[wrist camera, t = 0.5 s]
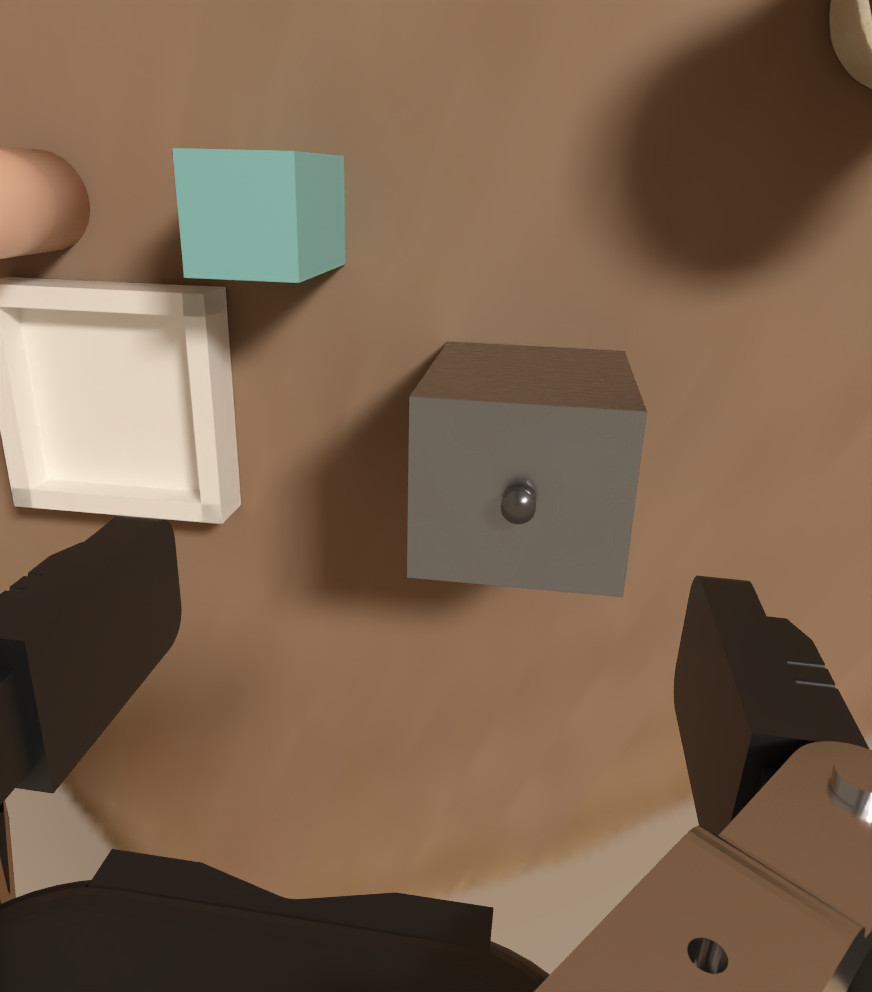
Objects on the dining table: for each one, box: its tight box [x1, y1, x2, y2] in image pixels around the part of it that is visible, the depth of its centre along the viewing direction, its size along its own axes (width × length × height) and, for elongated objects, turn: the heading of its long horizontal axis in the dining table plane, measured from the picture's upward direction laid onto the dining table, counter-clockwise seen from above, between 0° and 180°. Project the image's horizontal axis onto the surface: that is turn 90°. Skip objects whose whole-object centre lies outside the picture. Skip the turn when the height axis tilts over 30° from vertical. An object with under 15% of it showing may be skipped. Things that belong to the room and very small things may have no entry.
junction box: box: [407, 342, 647, 597], centre depth 33 cm, size 7×8×11 cm
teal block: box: [172, 148, 346, 283], centre depth 32 cm, size 4×4×7 cm
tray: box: [0, 277, 241, 524], centre depth 39 cm, size 11×11×2 cm
